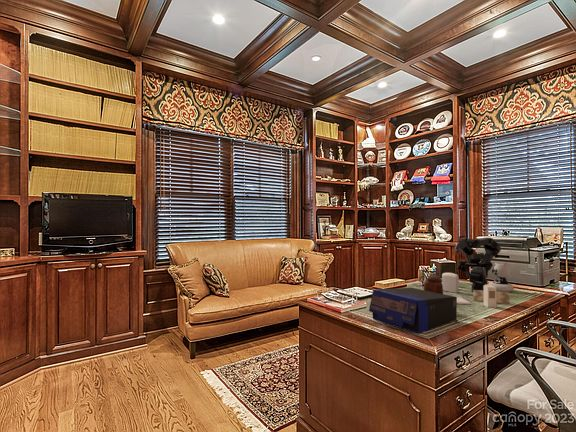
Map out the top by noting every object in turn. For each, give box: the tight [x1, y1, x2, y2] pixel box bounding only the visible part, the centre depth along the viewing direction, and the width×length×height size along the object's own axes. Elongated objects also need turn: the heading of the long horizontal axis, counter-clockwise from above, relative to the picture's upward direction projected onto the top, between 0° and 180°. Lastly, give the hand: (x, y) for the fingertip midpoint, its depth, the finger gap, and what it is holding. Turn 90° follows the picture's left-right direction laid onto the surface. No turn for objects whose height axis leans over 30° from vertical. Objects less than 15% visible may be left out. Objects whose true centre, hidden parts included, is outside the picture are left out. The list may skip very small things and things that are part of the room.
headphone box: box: [368, 287, 458, 335], centre depth 153 cm, size 25×35×14 cm
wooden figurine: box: [423, 274, 444, 294], centre depth 171 cm, size 12×6×18 cm, turn 32°
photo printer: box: [441, 272, 460, 294], centre depth 210 cm, size 10×4×12 cm, turn 39°
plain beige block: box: [483, 284, 497, 308], centre depth 176 cm, size 4×5×11 cm
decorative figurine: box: [487, 261, 515, 293], centre depth 215 cm, size 15×15×20 cm
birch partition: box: [473, 290, 511, 304], centre depth 185 cm, size 18×2×6 cm, turn 71°
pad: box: [456, 296, 472, 305], centre depth 186 cm, size 12×12×1 cm
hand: (478, 277), depth 189 cm, fingers open, 9 cm apart
